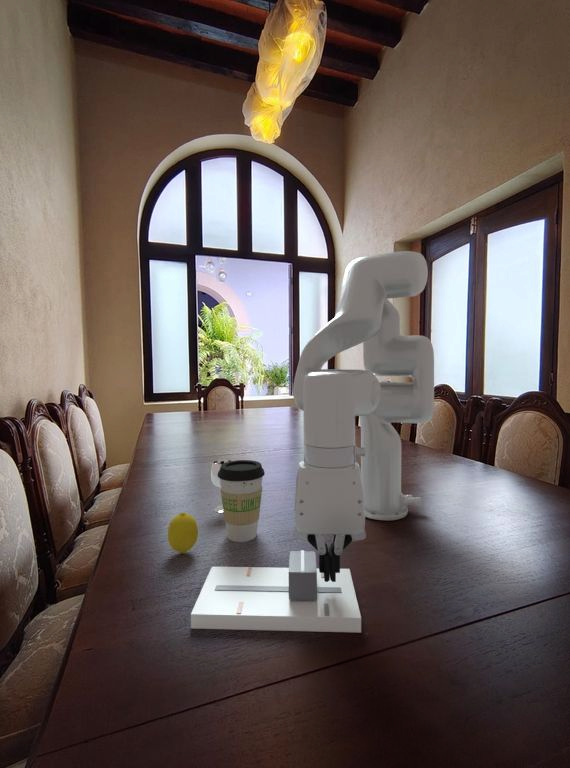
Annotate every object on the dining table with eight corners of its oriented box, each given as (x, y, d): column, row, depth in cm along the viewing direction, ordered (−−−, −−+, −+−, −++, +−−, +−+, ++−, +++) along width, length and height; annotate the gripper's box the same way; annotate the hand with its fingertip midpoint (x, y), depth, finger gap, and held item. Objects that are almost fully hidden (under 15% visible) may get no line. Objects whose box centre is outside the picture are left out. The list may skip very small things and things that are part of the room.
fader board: (349, 580, 61) (349, 568, 61) (361, 632, 49) (361, 617, 49) (212, 578, 62) (212, 565, 62) (191, 628, 50) (190, 613, 50)
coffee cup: (220, 549, 72) (219, 473, 71) (216, 528, 82) (215, 461, 81) (269, 542, 75) (269, 469, 74) (260, 522, 84) (259, 457, 84)
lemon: (186, 543, 75) (185, 504, 74) (204, 552, 71) (203, 511, 71) (162, 554, 70) (161, 513, 70) (179, 564, 67) (178, 521, 66)
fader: (315, 575, 59) (315, 550, 58) (316, 600, 52) (316, 571, 52) (290, 575, 59) (289, 549, 59) (288, 599, 53) (288, 571, 52)
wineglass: (230, 514, 89) (229, 465, 89) (207, 512, 90) (206, 464, 90) (237, 505, 95) (237, 459, 94) (216, 504, 96) (216, 458, 95)
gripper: (374, 449, 58) (374, 563, 59) (279, 449, 58) (280, 562, 59) (386, 461, 50) (385, 592, 51) (277, 461, 51) (278, 591, 52)
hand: (329, 576), depth 55 cm, fingers closed
